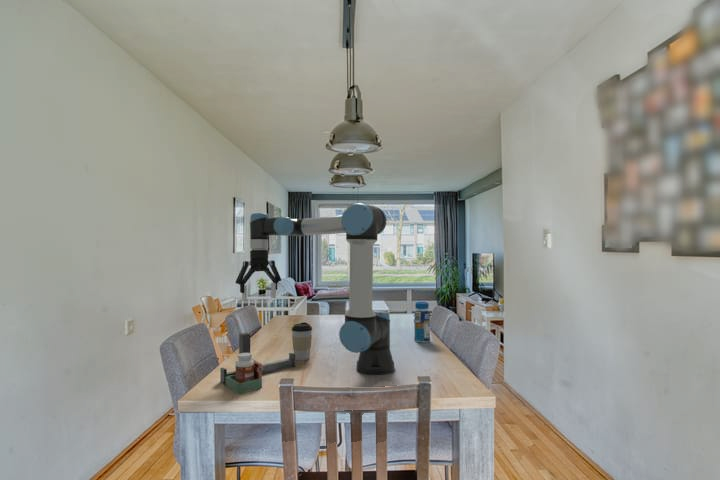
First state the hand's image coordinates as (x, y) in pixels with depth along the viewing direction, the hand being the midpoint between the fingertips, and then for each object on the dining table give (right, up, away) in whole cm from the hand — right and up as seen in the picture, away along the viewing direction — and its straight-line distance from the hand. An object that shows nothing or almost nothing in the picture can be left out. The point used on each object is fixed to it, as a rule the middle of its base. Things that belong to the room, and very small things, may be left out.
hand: (259, 299), depth 165 cm
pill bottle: (+2, -26, -29) cm, 39 cm away
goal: (+2, -26, -29) cm, 39 cm away
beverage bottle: (+75, -27, +36) cm, 88 cm away
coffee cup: (+17, -27, +6) cm, 33 cm away
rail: (+4, -26, -16) cm, 31 cm away
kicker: (+3, -26, -24) cm, 35 cm away
